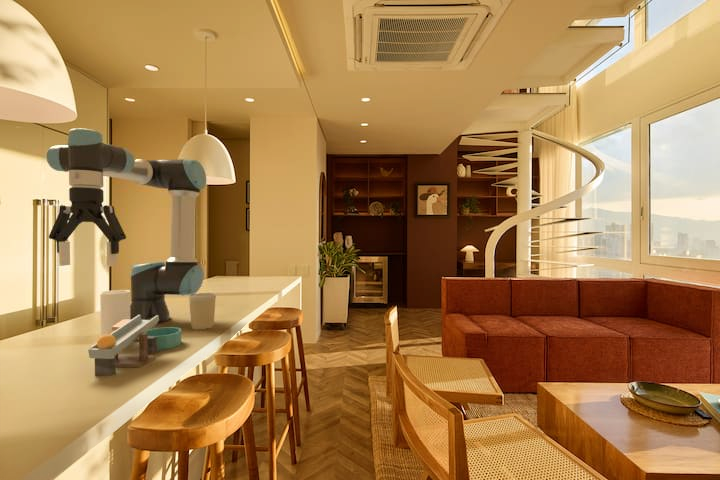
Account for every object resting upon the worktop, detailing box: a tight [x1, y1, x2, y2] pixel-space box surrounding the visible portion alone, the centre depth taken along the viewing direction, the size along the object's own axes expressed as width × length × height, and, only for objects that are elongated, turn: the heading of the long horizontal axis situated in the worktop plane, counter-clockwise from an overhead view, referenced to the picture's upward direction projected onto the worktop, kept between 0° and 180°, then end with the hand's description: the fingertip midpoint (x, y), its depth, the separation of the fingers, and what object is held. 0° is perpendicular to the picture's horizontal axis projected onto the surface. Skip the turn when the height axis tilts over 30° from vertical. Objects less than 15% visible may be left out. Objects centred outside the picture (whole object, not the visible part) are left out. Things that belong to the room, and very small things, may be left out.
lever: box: [87, 315, 159, 359], centre depth 102 cm, size 20×11×4 cm, turn 176°
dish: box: [146, 326, 182, 351], centre depth 118 cm, size 11×11×4 cm
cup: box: [99, 289, 131, 337], centre depth 123 cm, size 8×8×16 cm
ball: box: [96, 334, 116, 349], centre depth 95 cm, size 4×4×4 cm
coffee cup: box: [188, 292, 217, 330], centre depth 140 cm, size 9×9×12 cm
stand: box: [94, 333, 157, 377], centre depth 103 cm, size 19×11×8 cm, turn 176°
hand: (88, 265), depth 102 cm, fingers open, 13 cm apart
